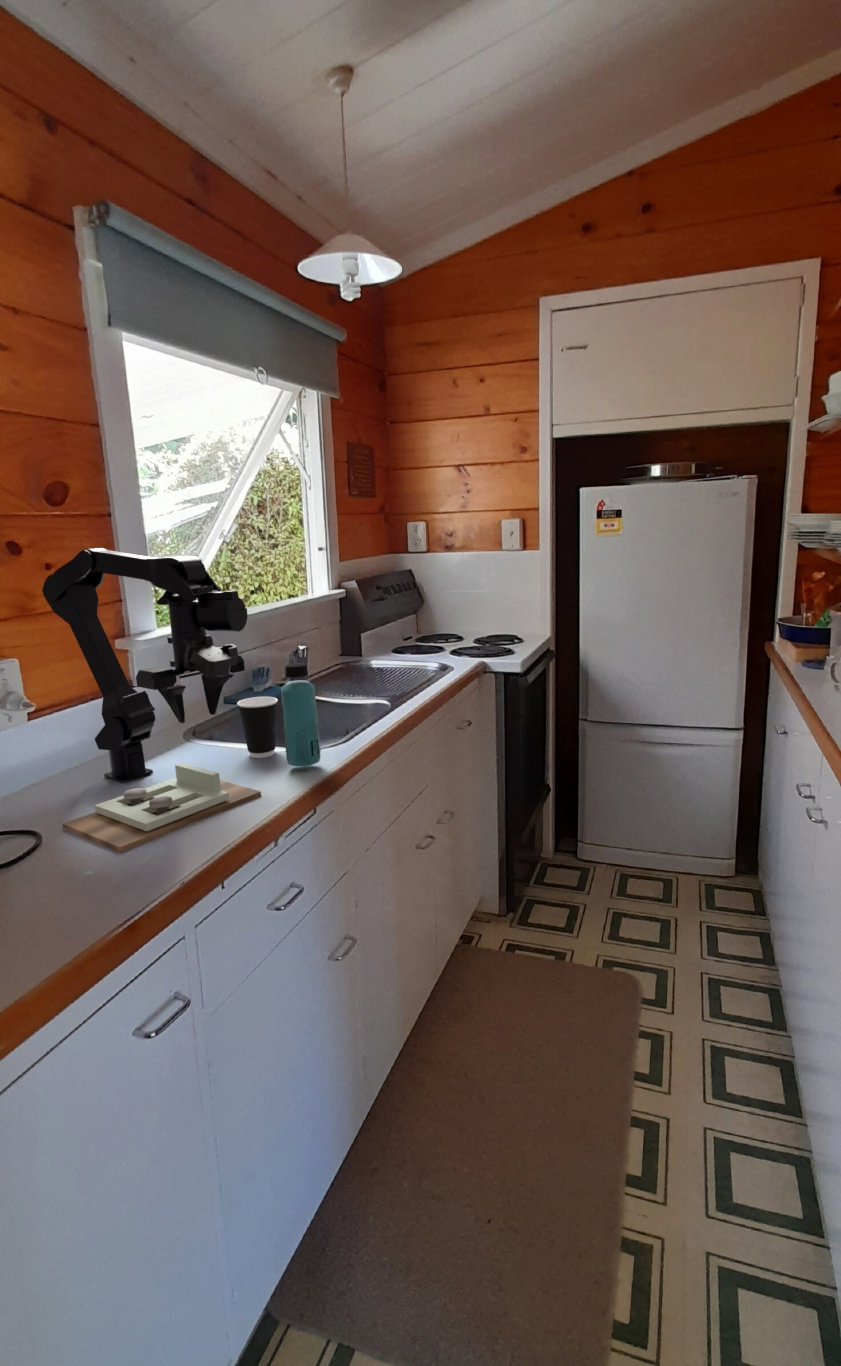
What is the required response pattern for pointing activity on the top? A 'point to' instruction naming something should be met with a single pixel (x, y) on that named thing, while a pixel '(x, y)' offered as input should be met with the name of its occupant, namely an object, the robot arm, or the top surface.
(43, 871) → the top surface
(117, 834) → the walnut board
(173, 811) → the sage panel
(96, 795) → the top surface
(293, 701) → the beverage bottle
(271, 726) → the dixie cup
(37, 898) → the top surface
